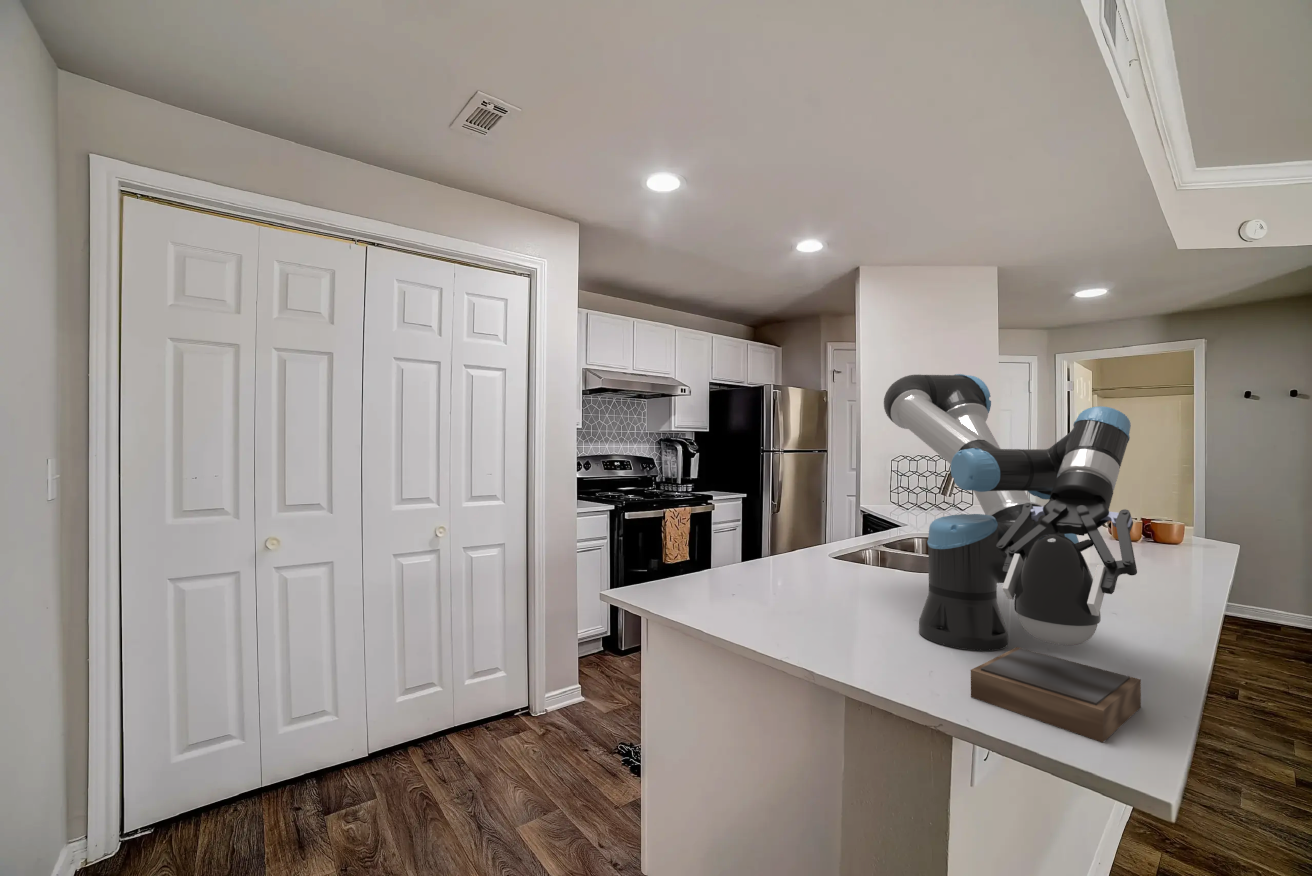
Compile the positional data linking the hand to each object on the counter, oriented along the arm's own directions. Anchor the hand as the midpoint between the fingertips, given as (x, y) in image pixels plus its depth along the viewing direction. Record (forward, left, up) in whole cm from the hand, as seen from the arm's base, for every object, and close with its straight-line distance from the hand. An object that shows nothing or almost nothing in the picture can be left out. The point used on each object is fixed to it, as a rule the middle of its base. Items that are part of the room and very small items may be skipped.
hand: (1048, 601), depth 81 cm
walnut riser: (+2, +3, -15) cm, 16 cm away
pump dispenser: (+2, +2, -6) cm, 7 cm away
